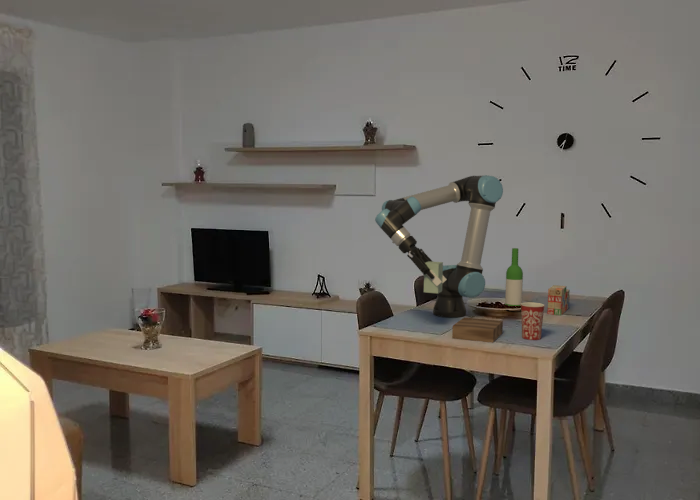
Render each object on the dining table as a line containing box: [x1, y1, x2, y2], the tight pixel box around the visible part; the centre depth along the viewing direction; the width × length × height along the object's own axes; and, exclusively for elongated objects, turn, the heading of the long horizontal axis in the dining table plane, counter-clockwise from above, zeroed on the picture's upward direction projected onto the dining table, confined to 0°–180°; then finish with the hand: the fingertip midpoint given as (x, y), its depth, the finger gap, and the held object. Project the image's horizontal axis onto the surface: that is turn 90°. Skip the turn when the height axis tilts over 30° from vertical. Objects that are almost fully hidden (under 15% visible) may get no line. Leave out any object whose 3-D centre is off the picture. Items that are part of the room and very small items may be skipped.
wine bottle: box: [504, 247, 524, 306], centre depth 312 cm, size 8×8×30 cm
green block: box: [423, 261, 444, 294], centre depth 267 cm, size 6×6×12 cm
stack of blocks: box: [546, 284, 571, 316], centre depth 314 cm, size 21×6×12 cm, turn 152°
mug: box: [520, 301, 545, 341], centre depth 259 cm, size 13×9×14 cm
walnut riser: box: [451, 316, 504, 344], centre depth 262 cm, size 18×16×5 cm
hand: (441, 282), depth 266 cm, fingers closed on green block, 6 cm apart
